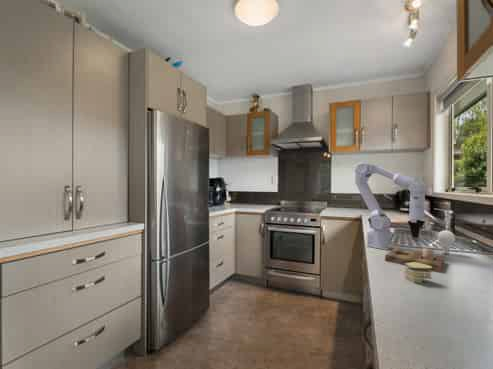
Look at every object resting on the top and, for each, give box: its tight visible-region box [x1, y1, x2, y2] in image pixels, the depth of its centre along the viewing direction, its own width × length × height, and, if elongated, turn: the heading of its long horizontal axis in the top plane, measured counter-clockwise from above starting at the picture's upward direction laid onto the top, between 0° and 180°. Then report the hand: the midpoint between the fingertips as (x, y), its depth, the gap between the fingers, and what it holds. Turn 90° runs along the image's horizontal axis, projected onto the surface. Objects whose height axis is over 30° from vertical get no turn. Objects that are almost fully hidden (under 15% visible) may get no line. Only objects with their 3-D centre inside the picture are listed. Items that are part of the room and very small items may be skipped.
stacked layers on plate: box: [403, 262, 433, 283], centre depth 83 cm, size 10×9×6 cm
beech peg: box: [410, 228, 422, 242], centre depth 115 cm, size 4×4×6 cm
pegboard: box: [384, 247, 446, 273], centre depth 104 cm, size 18×16×2 cm
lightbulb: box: [437, 229, 456, 255], centre depth 116 cm, size 6×6×11 cm
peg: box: [422, 248, 435, 261], centre depth 101 cm, size 4×4×6 cm
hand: (415, 236), depth 115 cm, fingers closed on beech peg, 3 cm apart
